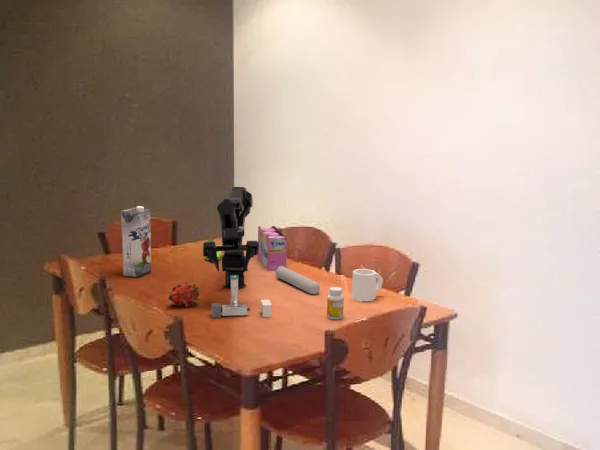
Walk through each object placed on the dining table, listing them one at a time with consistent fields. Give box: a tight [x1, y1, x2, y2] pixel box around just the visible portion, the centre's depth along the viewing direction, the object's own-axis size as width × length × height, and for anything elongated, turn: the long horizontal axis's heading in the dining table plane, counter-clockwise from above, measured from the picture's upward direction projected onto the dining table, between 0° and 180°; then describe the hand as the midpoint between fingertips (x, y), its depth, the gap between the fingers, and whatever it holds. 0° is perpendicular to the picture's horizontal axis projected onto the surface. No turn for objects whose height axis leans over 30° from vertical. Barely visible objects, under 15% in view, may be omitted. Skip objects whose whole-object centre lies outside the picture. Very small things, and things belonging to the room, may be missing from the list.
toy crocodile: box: [205, 239, 223, 261], centre depth 317 cm, size 20×7×6 cm, turn 9°
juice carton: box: [120, 205, 152, 278], centre depth 288 cm, size 9×10×27 cm
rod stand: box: [211, 302, 251, 319], centre depth 244 cm, size 12×4×4 cm, turn 100°
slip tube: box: [221, 275, 248, 317], centre depth 243 cm, size 8×3×13 cm, turn 100°
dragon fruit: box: [168, 281, 200, 308], centre depth 253 cm, size 8×8×12 cm
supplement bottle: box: [326, 286, 345, 320], centre depth 244 cm, size 5×5×10 cm
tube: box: [275, 266, 321, 295], centre depth 278 cm, size 5×5×25 cm
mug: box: [351, 268, 384, 302], centre depth 266 cm, size 12×9×10 cm
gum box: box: [257, 225, 288, 272], centre depth 310 cm, size 24×8×14 cm, turn 14°
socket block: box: [260, 299, 273, 318], centre depth 246 cm, size 3×6×4 cm, turn 10°
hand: (232, 270), depth 249 cm, fingers open, 9 cm apart
